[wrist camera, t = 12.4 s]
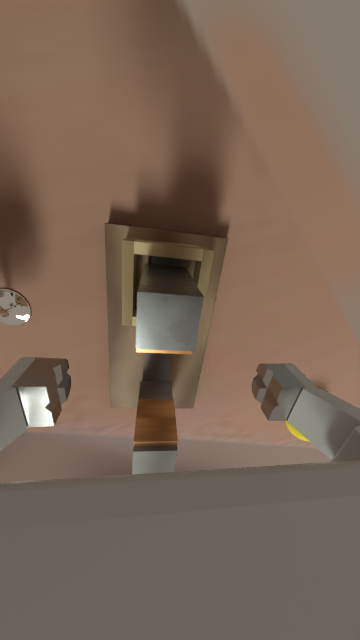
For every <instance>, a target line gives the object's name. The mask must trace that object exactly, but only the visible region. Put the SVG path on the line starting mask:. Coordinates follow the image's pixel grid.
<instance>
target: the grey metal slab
mask: <svg viewBox="0 0 360 640" xmlns="http://www.w3.org/2000/svg"><path fill="white" fill-rule="evenodd" d="M203 299H204V296H203V295H202V293H201V291H200V290H199V288H198V286H197V285H196V283H195V281H194V280H193V278H192V277H191V275H190V273H189V272H188V270H187V268H186V267H182V266H172V265H162V264H152V263H145V265H144V269H143V273H142V276H141V280H140V284H139V287H138V291H137V320H136V352H143V353H169V354H192V352H193V351H195V345H196V339H197V334H198V328H199V322H200V316H201V311H202V305H203Z"/></svg>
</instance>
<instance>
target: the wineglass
mask: <svg viewBox="0 0 360 640" xmlns="http://www.w3.org/2000/svg"><path fill="white" fill-rule="evenodd" d="M30 316H31V308H30V305H29V303H28V302H27V300H26V299H25V298H24V297H23V296H21V295H20V294H19V293H17V292H15V291H12V290H9V289H0V322H2V323H4V324H7V325H13V326H16V325H22V324H24V323H26V322H27V321H28V320H29V318H30Z"/></svg>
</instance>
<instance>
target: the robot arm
mask: <svg viewBox="0 0 360 640" xmlns="http://www.w3.org/2000/svg"><path fill="white" fill-rule="evenodd" d="M68 369H69V364H68V360H67V359H61V358H37V357H23V358H21V359H19V360H18V361H17V363H16V364H15V365H14V366H13V367H12V368H11V369H10V370H9V371H8V372H7V373H6V374H5V375H4V376H3V377H2V378H1V379H0V451H1V450H2V449H4V448H5V447H6V446H7V445H8V444H10V443H11V442H12V441H13V440H14V439H16V438H17V437H18V436H19V435H20V434H22V433H23V432H24V431H25V430H26V429H27V427H41V426H54V425H55V423H56V421H57V419H58V417H59V415H60V413H61V411H62V409H61V404H62V403H64V402H65V401H66V400H67V398H68V396H69V392H70V388H71V377H70V375H68V374H67V373H66V372H67V370H68ZM256 371H257V374H258V375H257V376H256V377H254V378H253V382H252V392H253V395H254V397H255V399H256V400H257V401H259V402H260V403H261V409H262V411H263V413H264V414H265V416H266V418H267V419H268V421H287V422H288V423H289V424H290V425H291V426H292V427H293V428H295V429H296V430H297V431H298V432H299V433H300V434H302V435H303V436H304V437H305V438H306V439H307V440H309V441H310V442H311V443H312V444H313V445H315V446H316V447H317V448H318V449H319V450H320V451H322V452H323V453H324V454H325V455H326V456H327V457H329V458H330V459H331V460H332V461H331V462H326V463H325V462H324V463H309V464H294V465H277V466H261V467H246V468H230V469H214V470H199V471H183V472H165V473H149V474H133V475H117V476H101V477H86V478H85V477H84V478H68V479H53V480H36V481H21V482H4V483H0V640H360V409H359V408H357V407H355V406H353V405H351V404H350V403H348V402H346V401H344V400H342V399H340V398H338V397H336V396H334V395H332V394H331V393H329V392H327V391H325V390H323V389H321V388H317V387H316V386H315V385H314V384H313V383H312V382H311V381H310V380H309V379H308V378H307V377H306V376H305V375H304V374H303V373H302V372H301V371H300V370H299V369H298V368H297V367H296V366H295V365H293V364H291V363H281V364H262V363H260V364H259V365H258V367H257V370H256Z"/></svg>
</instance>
